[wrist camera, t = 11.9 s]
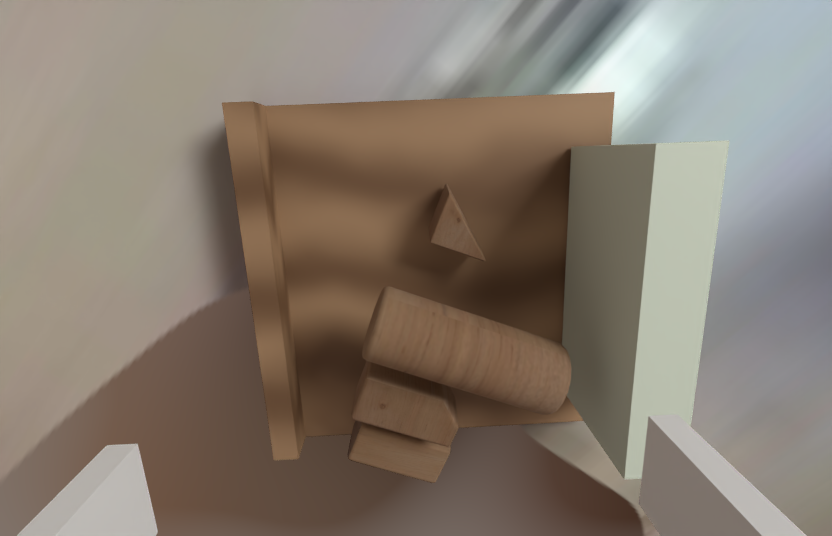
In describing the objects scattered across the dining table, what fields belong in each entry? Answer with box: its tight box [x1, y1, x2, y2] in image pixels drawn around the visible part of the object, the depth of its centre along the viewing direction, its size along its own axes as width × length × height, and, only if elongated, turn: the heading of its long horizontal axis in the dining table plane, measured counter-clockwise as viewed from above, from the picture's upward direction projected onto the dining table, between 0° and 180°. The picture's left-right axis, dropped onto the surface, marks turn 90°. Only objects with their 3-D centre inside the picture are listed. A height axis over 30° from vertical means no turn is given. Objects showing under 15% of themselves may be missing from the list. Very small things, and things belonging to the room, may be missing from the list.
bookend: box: [562, 141, 729, 479], centre depth 24 cm, size 16×3×9 cm, turn 2°
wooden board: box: [222, 92, 615, 460], centre depth 28 cm, size 22×22×4 cm
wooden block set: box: [348, 184, 572, 483], centre depth 26 cm, size 18×9×10 cm
